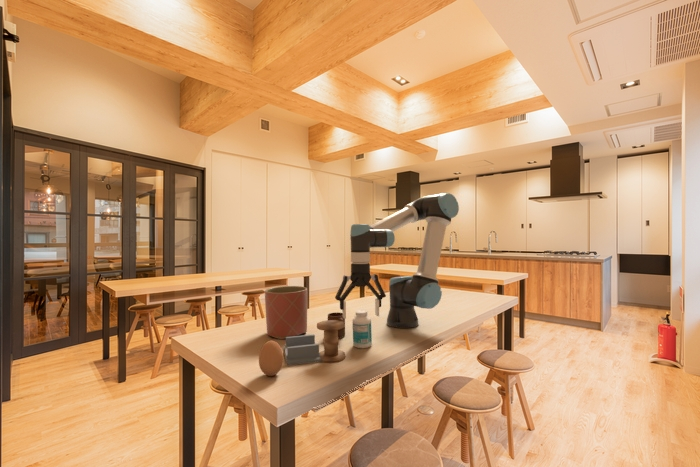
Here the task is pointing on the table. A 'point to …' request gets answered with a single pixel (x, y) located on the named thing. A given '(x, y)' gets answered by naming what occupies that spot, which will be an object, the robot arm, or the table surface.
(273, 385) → the table surface
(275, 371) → the egg
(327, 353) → the bobbin
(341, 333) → the mug
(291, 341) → the card holder
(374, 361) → the table surface
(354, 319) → the pill bottle
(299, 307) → the planter
